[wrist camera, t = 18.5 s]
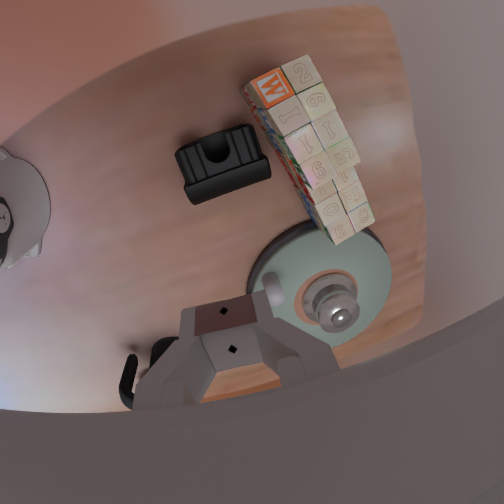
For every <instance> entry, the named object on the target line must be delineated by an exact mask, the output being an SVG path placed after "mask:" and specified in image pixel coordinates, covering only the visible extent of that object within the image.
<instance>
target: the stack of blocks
mask: <svg viewBox="0 0 504 504" xmlns="http://www.w3.org/2000/svg"><path fill="white" fill-rule="evenodd" d="M240 92H241V94H242V95H243V97H244V99H245V100H246V102H247V104H248V105H249V107H250V109H251V112H252V113H253V115H254V117H255V118H256V120H257V122H258V123H259V125H260V127H261V128H262V130H263V132H264V134H265V136H266V137H267V139H268V141H269V143H270V144H271V146H272V148H274V149H275V152H276V153H277V155H278V157H279V159H280V160H281V162H282V164H283V166H284V167H285V169H286V171H287V172H288V174H289V176H290V178H291V180H292V182H293V183H294V187H295V189H296V191H297V193H298V195H299V197H300V199H301V201H302V202H303V204H304V206H305V208H306V210H307V211H308V213H309V215H310V217H311V219H312V220H313V221H314V223H315V224H316V225H317V226H318V227H319V229H320V230H321V231H322V232H323V233H324V234H325V236H328V238H329V239H330V240H331V241H332V242H333V243H334V245H335V246H336V245H337V244H339V243H341V242H342V241H344V240H346V239H348V238H349V237H351V236H353V235H354V234H355V233H357V232H359V231H360V230H362V229H364V228H365V227H367V226H369V225H370V224H372V223H373V222H375V218H374V216H373V213H372V211H371V208H370V206H369V203H368V202H367V201H368V200H367V197H366V195H365V192H364V190H363V187H362V185H361V182H360V180H359V177H358V175H357V173H356V170H355V168H354V166H355V165H357V164H359V163H360V162H361V160H360V157H359V155H358V153H357V151H356V149H355V146H354V144H353V142H352V140H351V138H350V137H349V135H348V133H347V130H346V128H345V126H344V124H343V122H342V120H341V118H340V116H339V114H338V112H337V111H336V106H335V104H334V102H333V100H332V98H331V96H330V94H329V93H328V91H327V89H326V87H325V85H324V83H323V82H322V78H321V77H320V75H319V73H318V71H317V69H316V67H315V66H314V64H313V62H312V60H311V59H310V57H309V56H308V55H305V56H302V57H300V58H297V59H295V60H293V61H291V62H288V63H286V64H284V65H282V66H280V67H278V68H276V69H274V70H271V71H269V72H267V73H265V74H263V75H261V76H259V77H257V78H255V79H253V80H252V81H250V82H249V83H247V84H246V85H245V86H244V87H243V88H241V89H240Z"/></svg>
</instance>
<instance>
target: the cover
mask: <svg viewBox="0 0 504 504" xmlns="http://www.w3.org/2000/svg"><path fill="white" fill-rule="evenodd" d="M356 299H357V288H356V286H355V284H354V283H353V281H352V280H351V279H350V278H349V277H348V276H347V275H345V274H342V273H337V272H333V273H327V274H324V275H322V276H320V277H318V278H316V279H315V280H314V281H312V282H311V283H310V284H309V286H308V287H307V288H306V290H305V292H304V294H303V297H302V307H303V309H304V312H305V314H306V316H307V317H308V318H309V319H310V320H312V321H314V322H317V323H319V324H320V326H321V328H322V329H323V330H324V331H325V332H328V333H340V332H343V331H345V330H347V329H348V328H350V327H351V326H352V325H353V324H354V323H355V322H356V321H357V319H358V317H359V315H360V307H359V304H358V303H357V302H356Z"/></svg>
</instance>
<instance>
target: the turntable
mask: <svg viewBox="0 0 504 504" xmlns="http://www.w3.org/2000/svg"><path fill="white" fill-rule="evenodd" d="M333 272H337V273H342V274H345V275H347V276H348V277H349V278H350V279H351V280H352V281H353V283H354V284H355V286H356V288H357V299H356V302H357V303H358V304H359V307H360V315H359V317H358V319H357V321H356V322H355V323H354V324H353V325H352V326H351V327H350V328H348V329H347V330H345V331H343V332H340V333H328V332H325V331H324V330H323V329H322V328H321V326H320V324H319V323H317V322H314V321H312V320H310V319H309V318H308V317H307V316H306V314H305V312H304V309H303V307H302V297H303V294H304V292H305V290H306V288H307V287H308V286H309V284H310V283H311V282H312V281H314V280H315V279H316V278H318V277H320V276H322V275H324V274H327V273H333ZM391 280H392V272H391V265H390V261H389V258H388V256H387V254H386V252H385V250H384V249H383V248H382V246H381V245H380V244H379V243H378V242H377V241H376V240H375V239H373V238H372V237H371V236H370V235H369V234H367V233H365V232H364V231H362V230H360V231H359V232H357V233H355V234H354V235H353V236H351V237H349V238H348V239H346V240H344V241H342V242H341V243H339V244H337V245H336V246H335V245H334V243H333V242H332V241H331V240H330V239H329V238H328V236H325V234H324V233H323V232H322V231H321V230H320V229H319V227H316V228H312V229H309V230H306V231H304V232H302V233H299V234H297V235H296V236H294V237H292V238H290V239H289V240H287V241H286V242H284V243H283V244H282V245H280V246H279V247H278V248H277V249H276V250H275V251H274V252H273V253H272V254H271V255H270V256H269V257H268V258H267V260H266V261H265V262H264V264H263V265H262V267H261V268H260V270H259V272H258V274H257V276H256V278H255V281H254V284H253V287H252V293H254V292H257V291H261V290H264V289H265V290H266V293H267V296H268V299H269V302H270V306H271V309H272V312H273V315H274V318H276V317H279V318H281V319H283V320H285V321H286V322H288V323H290V324H292V325H294V326H296V327H297V328H299V329H301V330H303V331H305V332H307V333H308V334H310V335H312V336H314V337H316V338H318V339H320V340H322V341H323V342H325V343H327V344H329V345H330V348H332V347H335V346H338V345H340V344H342V343H345V342H346V341H348V340H350V339H352V338H353V337H355V336H356V335H358V334H359V333H360V332H361V331H363V330H364V329H365V328H366V327H367V326H368V325H369V324H370V323H371V322H372V321H373V320H374V319H375V317H376V316H377V315H378V313H379V312H380V311H381V309H382V307H383V305H384V304H385V302H386V299H387V297H388V294H389V290H390V287H391ZM251 296H252V295H251Z"/></svg>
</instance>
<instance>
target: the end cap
mask: <svg viewBox="0 0 504 504" xmlns="http://www.w3.org/2000/svg"><path fill="white" fill-rule="evenodd" d="M175 157H176V160H177V162H178V165H179V167H180V170H181V172H182V174H183V177H184V179H185V185H184V191H185V193H186V195H187V197H188V199H189V200H190V202H191V203H192V204H193V205H197V204H200V203H202V202H205V201H207V200H210V199H213V198H215V197H218V196H221V195H223V194H226V193H229V192H232V191H234V190H237V189H240V188H243V187H246V186H248V185H251V184H254V183H257V182H260V181H263V180H266V179H269V178H271V168H270V164H269V161H268V158H267V157H266V156H265V155H264V154H263V153H262V151H261V148H260V145H259V142H258V139H257V136H256V133H255V131H254V128H253V126H252V125H250V124H241V125H238V126H235V127H232V128H229V129H226V130H223V131H221V132H218V133H215V134H212V135H210V136H207V137H204V138H202V139H199V140H196V141H194V142H191V143H189V144H186V145H184V146H182V147H181V148H179V149H178V150H177V151H176V152H175Z"/></svg>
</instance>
